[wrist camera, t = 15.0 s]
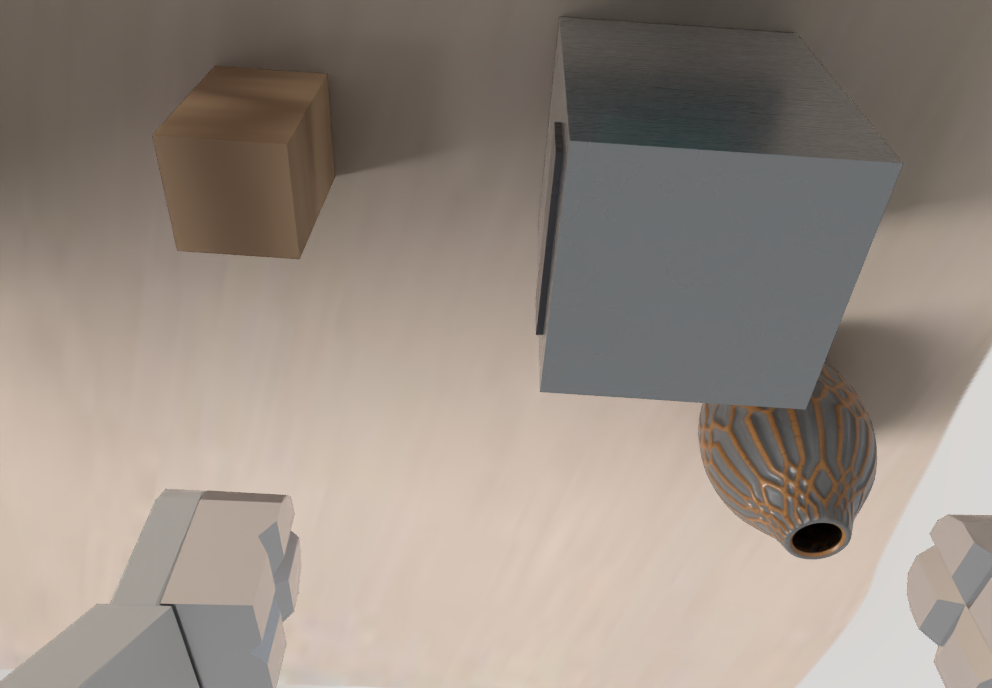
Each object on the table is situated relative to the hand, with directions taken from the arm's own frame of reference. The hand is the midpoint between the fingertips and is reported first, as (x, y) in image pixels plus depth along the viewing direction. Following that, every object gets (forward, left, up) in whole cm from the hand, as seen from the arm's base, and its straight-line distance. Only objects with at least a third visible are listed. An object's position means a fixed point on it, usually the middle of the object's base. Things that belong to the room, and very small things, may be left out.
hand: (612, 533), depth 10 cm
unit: (+4, -4, -22) cm, 22 cm away
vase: (+11, -15, -22) cm, 29 cm away
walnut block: (-10, -4, -22) cm, 24 cm away
